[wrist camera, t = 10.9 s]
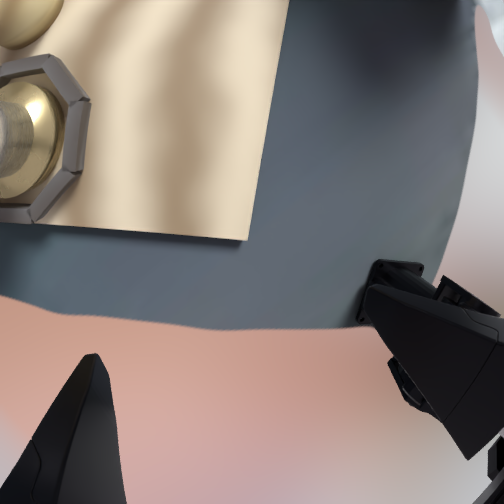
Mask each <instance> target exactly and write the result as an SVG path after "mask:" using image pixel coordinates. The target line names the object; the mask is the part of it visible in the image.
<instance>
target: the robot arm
mask: <svg viewBox="0 0 504 504" xmlns="http://www.w3.org/2000/svg"><path fill="white" fill-rule="evenodd" d="M380 264H381V265H380ZM379 265H380V266H379ZM423 270H424V265H423V264H421V263H416V262H405V261H395V260H384V259H378V260H377V261H376V262H375V264H374V267H373V270H372V273H371V276H370V279H369V282H368V285H367V288H366V291H365V294H364V297H363V300H362V303H361V306H360V308H359V311H358V314H357V316H356V321H357V322H358V323H359V324H370V323H372V324H373V326H374V327H375V329H376V330H377V332H378V334H379V335H380V337H381V338H382V340H383V341H384V343H385V344H386V346H387V347H388V349H389V350H390V351H391V352H392V354H393V355H394V356H393V358H391V359H390V360H389V361H388V363H387V364H388V366H389V368H390V370H391V373H392V375H393V377H394V379H395V381H396V383H397V385H398V387H399V389H400V391H401V394H402V396H403V398H404V400H405V401H406V402H408V403H409V405H410V406H413V407H415V408H416V409H418V410H420V411H422V412H426V413H429V414H431V415H432V416H433V417H435V418H436V419H438V420H439V421H440V422H441V423H442V424H443V425H444V427H445V428H446V429H447V431H448V432H449V434H450V435H451V437H452V438H453V440H454V441H455V443H456V445H457V446H458V448H459V449H460V451H461V452H462V454H463V455H464V457H465V458H466V459H467V460H470V459H471V458H472V457H473V456H474V455H475V454H476V453H478V451H480V450H481V449H482V448H483V447H484V446H485V445H486V444H487V443H488V442H489V441H491V440H492V439H493V438H494V437H495V436H496V435H497V434H498V433H499V434H500V437H499V438H498V439H497V440H496V442H495V443H494V444H493V445H492V447H491V448H490V449H489V450H488V477H489V478H490V479H491V480H492V482H491V484H490V485H489V486H488V487H487V488H486V489H485V491H484V492H483V493H482V494H481V495H480V496H479V497H478V498H477V499H476V501H475V502H474V503H473V504H504V319H503V318H500V314H499V313H498V312H496V311H495V310H494V309H492V308H491V307H490V306H488V305H487V304H486V303H484V302H483V301H481V300H480V299H479V298H477V297H476V296H474V295H473V294H471V293H470V292H468V291H467V290H465V289H464V288H463V287H461V286H459V285H458V284H457V283H455V282H453V281H452V280H450V279H449V278H447V277H446V276H444V275H443V276H442V278H441V282H440V284H439V286H438V288H435V287H434V286H433V285H431V284H430V283H428V282H427V281H426V280H424V279H423V278H421V276H422V273H423ZM361 318H362V319H361ZM0 504H127V502H126V497H125V491H124V485H123V479H122V472H121V464H120V456H119V446H118V435H117V424H116V417H115V411H114V405H113V399H112V392H111V385H110V378H109V374H108V372H107V370H106V368H105V366H104V364H103V362H102V360H101V358H100V356H99V355H98V354H96V353H94V354H87V355H85V356H84V357H83V358H82V360H81V361H80V363H79V364H78V365H77V367H76V368H75V370H74V371H73V373H72V374H71V376H70V377H69V379H68V380H67V382H66V383H65V385H64V386H63V388H62V390H61V391H60V392H59V394H58V396H57V397H56V398H55V400H54V402H53V403H52V405H51V406H50V408H49V409H48V411H47V413H46V414H45V416H44V418H43V419H42V421H41V423H40V424H39V426H38V428H37V429H36V431H35V433H34V434H33V436H32V440H30V441H29V443H28V445H27V446H26V449H25V450H24V452H23V453H22V455H21V457H20V459H19V460H18V462H17V463H16V465H15V467H14V468H13V470H12V471H11V473H10V474H9V476H8V477H7V479H6V480H5V482H4V483H3V485H2V487H1V488H0Z"/></svg>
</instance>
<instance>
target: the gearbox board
mask: <svg viewBox="0 0 504 504" xmlns="http://www.w3.org/2000/svg"><path fill="white" fill-rule="evenodd" d="M288 5H289V0H0V89H1V88H2V87H4V86H6V85H8V84H11V83H14V82H27V83H30V84H34V85H37V86H40V87H43V88H46V89H47V90H49V91H50V92H52V93H53V94H54V95H55V97H56V98H57V99H58V101H59V103H60V105H61V107H62V111H63V114H64V120H65V137H64V143H63V147H62V151H61V154H60V157H59V159H58V162H57V164H56V166H55V167H54V169H53V171H52V172H51V174H50V175H49V176H48V177H47V179H46V180H45V181H44V182H43V183H41V184H40V185H39V186H37V187H36V188H34V189H32V190H30V191H27V192H25V193H22V194H20V195H17V196H15V197H11V198H0V222H6V223H21V224H32V223H38V224H52V225H66V226H80V227H93V228H106V229H119V230H131V231H143V232H156V233H167V234H179V235H191V236H202V237H214V238H225V239H236V240H247V239H248V233H249V227H250V222H251V216H252V210H253V204H254V198H255V192H256V186H257V180H258V174H259V168H260V163H261V157H262V151H263V145H264V139H265V134H266V128H267V122H268V116H269V111H270V105H271V99H272V94H273V88H274V82H275V77H276V71H277V65H278V60H279V54H280V49H281V43H282V38H283V32H284V27H285V21H286V16H287V10H288Z"/></svg>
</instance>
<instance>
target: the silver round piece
mask: <svg viewBox="0 0 504 504" xmlns="http://www.w3.org/2000/svg"><path fill="white" fill-rule="evenodd" d="M64 137H65V120H64V114H63V111H62V107H61V105H60V103H59V101H58V99H57V98H56V97H55V95H54V94H53V93H52V92H50V91H49V90H47V89H46V88H43V87H40V86H37V85H34V84H30V83H27V82H14V83H11V84H8V85H6V86H4V87H2V88H1V89H0V198H11V197H15V196H17V195H20V194H22V193H25V192H27V191H30V190H32V189H34V188H36V187H37V186H39V185H40V184H41V183H43V182H44V181H45V180H46V179H47V177H48V176H49V175H50V174H51V172H52V171H53V169H54V167H55V166H56V164H57V162H58V159H59V157H60V154H61V151H62V147H63V143H64Z"/></svg>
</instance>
